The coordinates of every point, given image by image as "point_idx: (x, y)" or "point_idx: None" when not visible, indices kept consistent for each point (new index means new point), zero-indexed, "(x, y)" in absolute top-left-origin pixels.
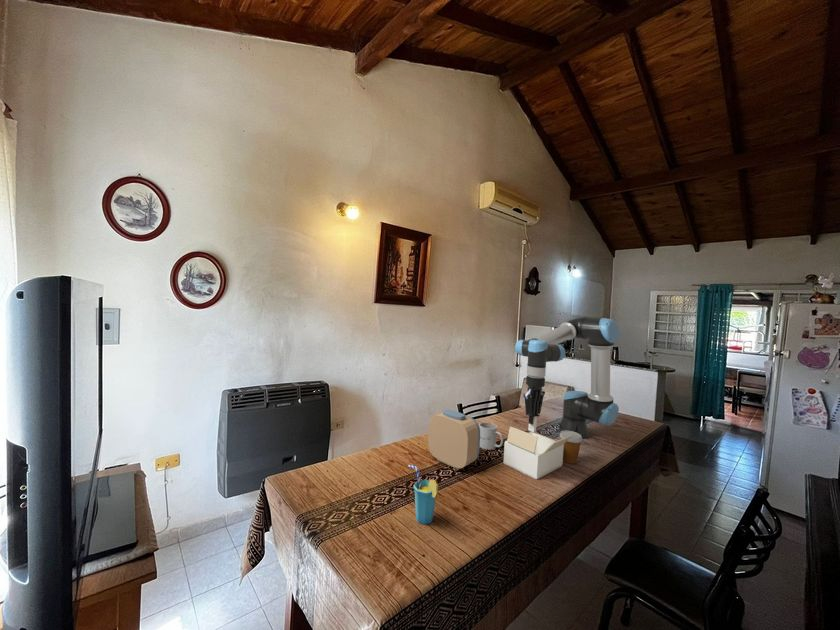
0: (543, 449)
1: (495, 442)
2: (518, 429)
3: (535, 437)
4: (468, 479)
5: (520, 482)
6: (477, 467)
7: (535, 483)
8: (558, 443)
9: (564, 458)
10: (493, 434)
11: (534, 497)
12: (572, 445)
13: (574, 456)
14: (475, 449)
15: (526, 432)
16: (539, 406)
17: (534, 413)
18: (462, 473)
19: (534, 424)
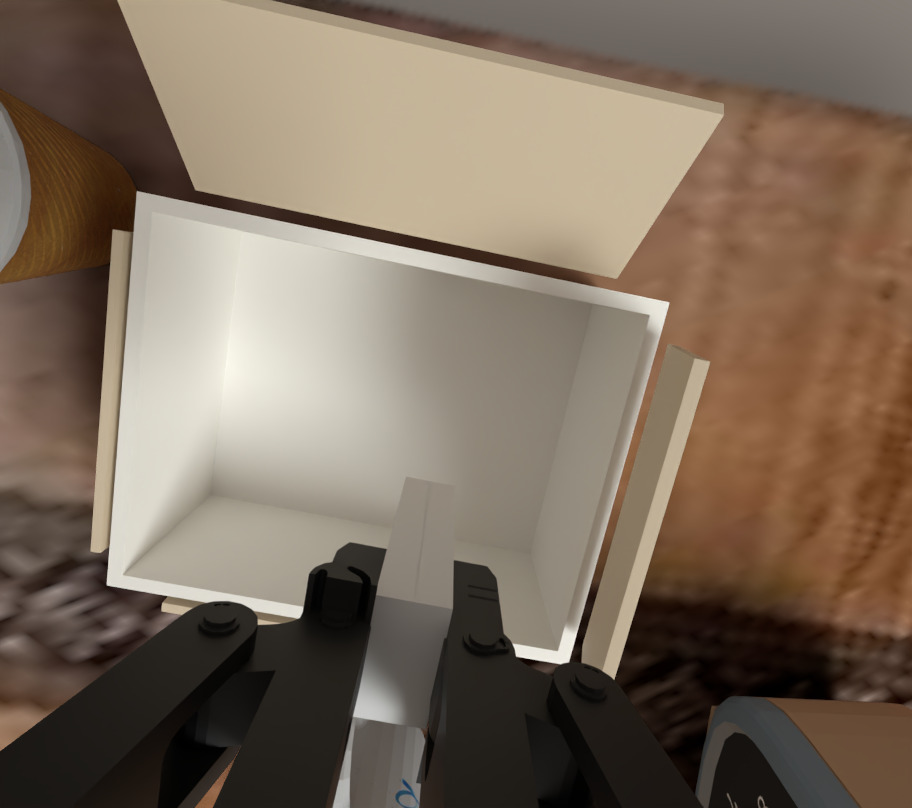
0: (195, 397)
1: None
2: (612, 651)
3: (700, 384)
4: (891, 616)
5: (715, 365)
6: (712, 649)
7: (658, 281)
8: (456, 130)
9: (127, 227)
10: (370, 803)
11: (845, 219)
12: (26, 124)
13: (75, 134)
14: (860, 761)
15: (169, 611)
16: (131, 770)
17: (464, 676)
18: (845, 674)
19: (451, 534)
